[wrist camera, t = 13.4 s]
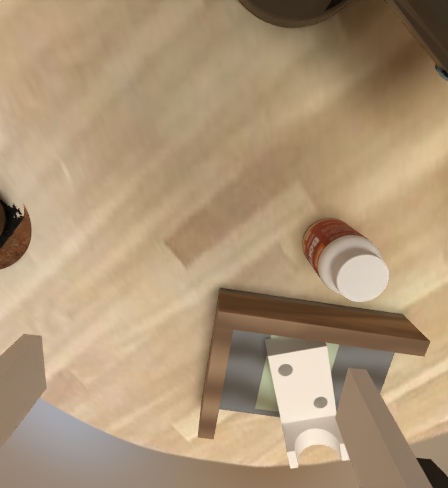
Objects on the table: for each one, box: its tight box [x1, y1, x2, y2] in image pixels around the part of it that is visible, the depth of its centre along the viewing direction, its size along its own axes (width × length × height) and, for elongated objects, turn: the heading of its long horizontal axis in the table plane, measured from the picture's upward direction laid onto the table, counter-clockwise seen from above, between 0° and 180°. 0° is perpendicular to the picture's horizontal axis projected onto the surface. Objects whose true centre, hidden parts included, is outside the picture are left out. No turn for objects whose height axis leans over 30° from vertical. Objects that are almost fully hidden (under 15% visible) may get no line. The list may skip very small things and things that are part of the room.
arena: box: [198, 288, 430, 439], centre depth 42 cm, size 18×24×6 cm
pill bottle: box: [303, 219, 389, 302], centre depth 34 cm, size 6×6×11 cm
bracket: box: [265, 336, 350, 468], centre depth 40 cm, size 13×7×8 cm, turn 12°
